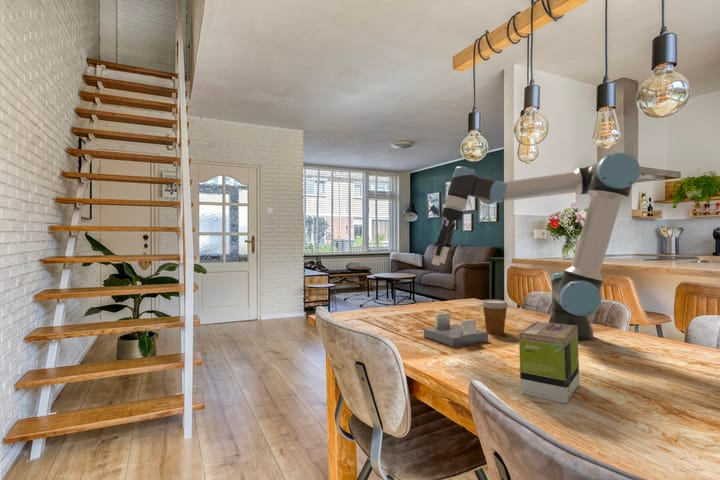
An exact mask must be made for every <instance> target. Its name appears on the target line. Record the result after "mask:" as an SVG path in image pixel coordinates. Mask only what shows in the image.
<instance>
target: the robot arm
mask: <svg viewBox="0 0 720 480" xmlns="http://www.w3.org/2000/svg"><path fill="white" fill-rule="evenodd" d="M640 175H641V165H640V163H639V161H638V160H637V159H636V157H634V156H633V155H631V154H628V153H625V152H614V153H611V154H608V155H605V156H604V157H602V158H601V159H600V160H598V161H597V162H596V163H594V164H592V165H589V166H585V167H580V168H576V169H575V170H574V171H572V172H571V171H570V172H565V173H558V174H549V175H543V176H537V177H529V178H521V179H515V180H508V181H507V180H506V181H500V180H497V179H496V180H495V179H491V178H485V177H480V176H477V175H476V170H475V169H473V168H470V167H466V166H456V167H455V169H454V171H453V174H452V177H451V181H450V184H449V188H448V191H447V194H446V197H444V200H445V203H444V206H445V207H443V208H442V213H441V217H442V218H445V219H444V220H443V223H442V227H441V230H440V232H439V235H438V238H437V241H436V242H434V246H435V249H434V253H433V257H432V260H431V264H432V265H434V266H435V265H436V266H438V267H439V266H440V264H443V265H444V264H445V263H446V260H447V256H448V252H449V250H450V249H451V248H452V240H453V235H454V231H455V228H456V224H457V223H456V222H455V221H457V222H461V221H462V220H463V217H464V211H465V210H466V207H467V204H468V198H469V197H472V198H473V197H474V198H477V199H479V200H480V201H481V202H482V203H483V204H486V205H492V204H495V203H498V204H499V203H502V202H506V201H507V202H508V201H509V202H510V201H517V200H526V199H534V198H541V197H549V196H550V197H551V196H557V195H564V194H575V193H576V194H577V195H578V196H579V195H581V196H582V195H589V196H590V200H589V204H588V208H587V210H586V215H585V218H584V221H583V224H582V228H581V231H580V234H579V238H578V241H577V245H576V248H575V251H574V256H573V258H572V261H571V265H570V266H569V267H567V268H565V269H564V271H563V272H557V273H555V272H554V273H553V274H552V275H551V280H550V283H551V314H550V318H549V321H548V323H557V324H566V325H576V326H577V327H578V341H589V340H593V338H594V330H593V328H592V325H591V322H590V320H589V317H588V316H589V315H591V314H594V313H595V312H596V311H597V310H598V309H599V308H600V306H601V303H602V293H601V288H602V286H603V283H604V279H603V277H602V275H601V274H600V273H601V270H602V267H603V264H604V260H605V257H606V254H607V250H608V247H609V243H610V241H611V237H612V234H613V231H614V226H615V224H616V220H617V218H618V213H619V211H620V207H621V204H622V203H623V202H625V201H627V200H629V196H630V193H631V190H632V187H633V185H634V184H635V183H636V182H637V181H638V179H639V177H640Z"/></svg>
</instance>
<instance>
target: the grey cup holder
mask: <svg viewBox="0 0 720 480" xmlns="http://www.w3.org/2000/svg"><path fill="white" fill-rule="evenodd" d="M434 315H435V316H434V317H435V318H434V320H435V324H434V325H435V326H433V327H425V328H423V338H426V339H429V340H431V341H434V342H437V343H440V344H442V345H445V346H449V347H451V348H457V347H463V346H467V345H468V346H469V345H473V344H479V343H484V342H489V333H488V332H486V331H483V330H479V329H477V318H476V319H474V318H469V319H463V320H460V324H458V323H455V324H451V313H450V312H442V313H436V314H434Z"/></svg>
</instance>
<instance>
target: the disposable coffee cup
mask: <svg viewBox="0 0 720 480" xmlns="http://www.w3.org/2000/svg"><path fill="white" fill-rule="evenodd" d="M481 306H482V308H483V314H484V315H483V316H484V321H485V322H484V324H485V329H486V331H485V332H488V334H491V335H504V334H505V325H506V316H507V310H508V306H509V305H508V302H507V301H506V300H502V299H484V300H482V304H481Z"/></svg>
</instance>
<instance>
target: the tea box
mask: <svg viewBox="0 0 720 480" xmlns="http://www.w3.org/2000/svg"><path fill="white" fill-rule="evenodd" d="M518 334H519V335H518V336H519V337H518V338H519V339H518V340H519V342H518V344H519V347H518V348H519V376H520V377H519V378H520V379H519V381H520V383H519V384H520V394H522V395H526V396H530V397H533V398H536V399H537V398H538V399H543V400H546V401H551V402H556V403H561V404H565V405H566V404H567V403H568V401H569V400H570V398H571V397H572V395H573V393H574V392H575V391H576V390H577V388H578V387H579V385H580V362H579V359H580V358H579V340H578V327H577V326H576V325H566V324H557V323H549V322H545V321H538V320H537V321H535V322H533V323H532V324H530V325H529V326H527V327H526V328H524V329H523V330H521V331H519V333H518Z"/></svg>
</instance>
